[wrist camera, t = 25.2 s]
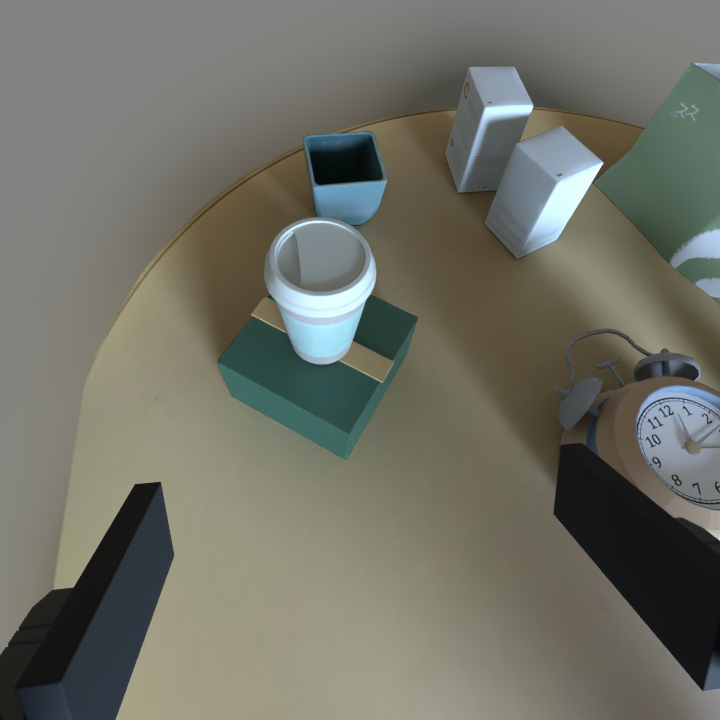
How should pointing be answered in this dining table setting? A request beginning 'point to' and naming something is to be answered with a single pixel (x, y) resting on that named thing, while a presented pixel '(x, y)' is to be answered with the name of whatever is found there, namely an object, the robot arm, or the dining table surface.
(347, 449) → the green parcel box
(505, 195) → the white packaging box
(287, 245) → the coffee cup
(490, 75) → the small box
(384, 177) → the flower pot
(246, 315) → the dining table surface
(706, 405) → the alarm clock
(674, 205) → the green gift bag
